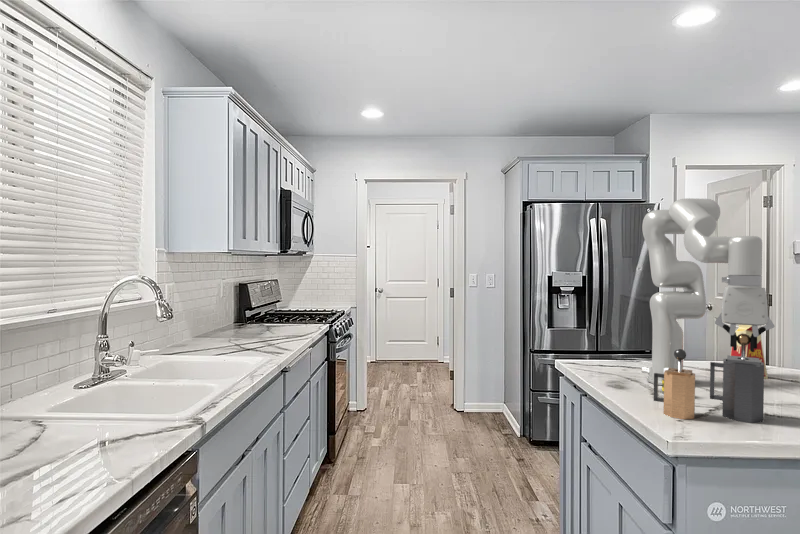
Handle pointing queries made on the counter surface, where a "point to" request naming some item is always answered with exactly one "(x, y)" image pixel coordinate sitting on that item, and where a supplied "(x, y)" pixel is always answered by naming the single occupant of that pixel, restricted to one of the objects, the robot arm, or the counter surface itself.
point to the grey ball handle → (679, 357)
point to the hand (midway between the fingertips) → (743, 349)
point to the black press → (740, 388)
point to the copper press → (677, 393)
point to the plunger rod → (743, 343)
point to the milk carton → (757, 352)
